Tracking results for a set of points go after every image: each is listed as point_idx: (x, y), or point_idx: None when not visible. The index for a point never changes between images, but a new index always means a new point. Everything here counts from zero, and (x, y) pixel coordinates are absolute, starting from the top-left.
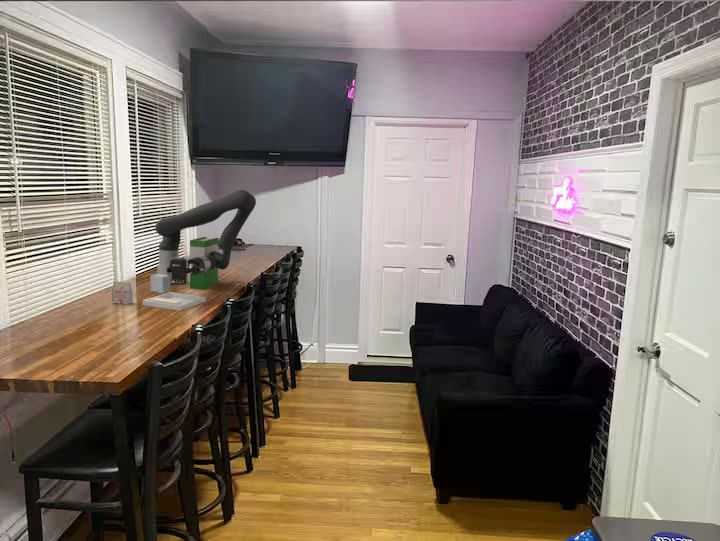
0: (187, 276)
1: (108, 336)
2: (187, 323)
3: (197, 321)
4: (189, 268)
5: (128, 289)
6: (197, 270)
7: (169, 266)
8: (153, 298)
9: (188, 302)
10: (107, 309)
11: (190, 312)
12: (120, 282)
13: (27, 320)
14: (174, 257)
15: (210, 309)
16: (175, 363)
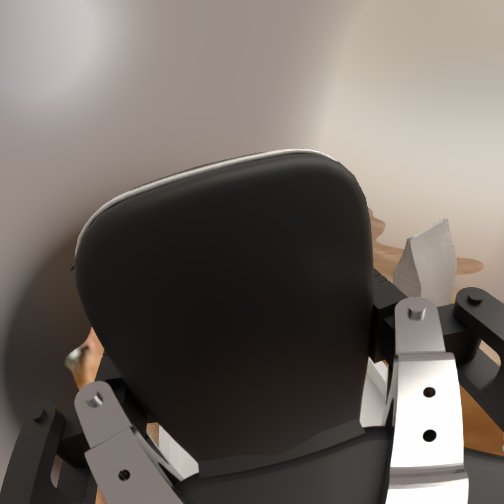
0: (187, 450)
1: None
2: (103, 349)
3: (86, 371)
4: (101, 384)
5: (399, 262)
6: (60, 496)
7: (461, 300)
8: (378, 374)
9: (165, 438)
10: (388, 279)
11: (147, 428)
12: (430, 227)
13: (369, 209)
14: (299, 149)
15: (102, 500)
16: (72, 269)
